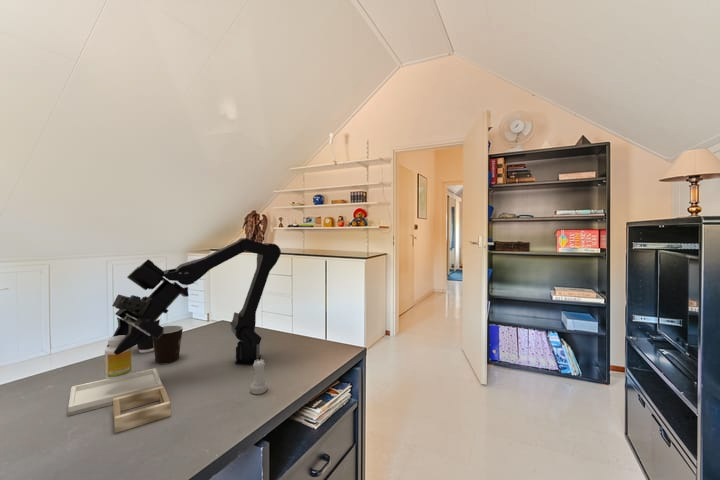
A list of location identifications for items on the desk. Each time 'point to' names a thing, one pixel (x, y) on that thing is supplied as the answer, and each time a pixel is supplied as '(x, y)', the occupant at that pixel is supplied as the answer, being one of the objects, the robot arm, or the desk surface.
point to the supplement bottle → (117, 359)
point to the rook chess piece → (258, 378)
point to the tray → (110, 390)
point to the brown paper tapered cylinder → (168, 344)
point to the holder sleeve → (140, 415)
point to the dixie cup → (147, 343)
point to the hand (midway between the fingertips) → (111, 351)
